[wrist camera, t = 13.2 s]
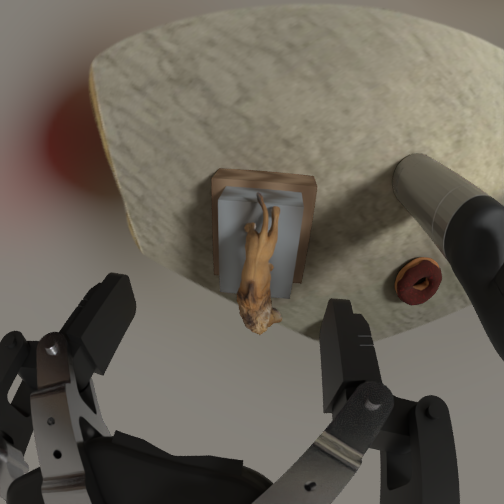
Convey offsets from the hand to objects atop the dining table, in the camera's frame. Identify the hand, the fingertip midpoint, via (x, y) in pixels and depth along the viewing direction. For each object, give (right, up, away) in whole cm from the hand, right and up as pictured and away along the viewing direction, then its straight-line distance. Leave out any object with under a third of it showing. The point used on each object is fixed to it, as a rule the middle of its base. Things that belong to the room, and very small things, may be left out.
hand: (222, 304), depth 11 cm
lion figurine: (+3, +2, +25) cm, 25 cm away
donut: (+33, -3, +36) cm, 49 cm away
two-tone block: (+3, +7, +33) cm, 34 cm away
